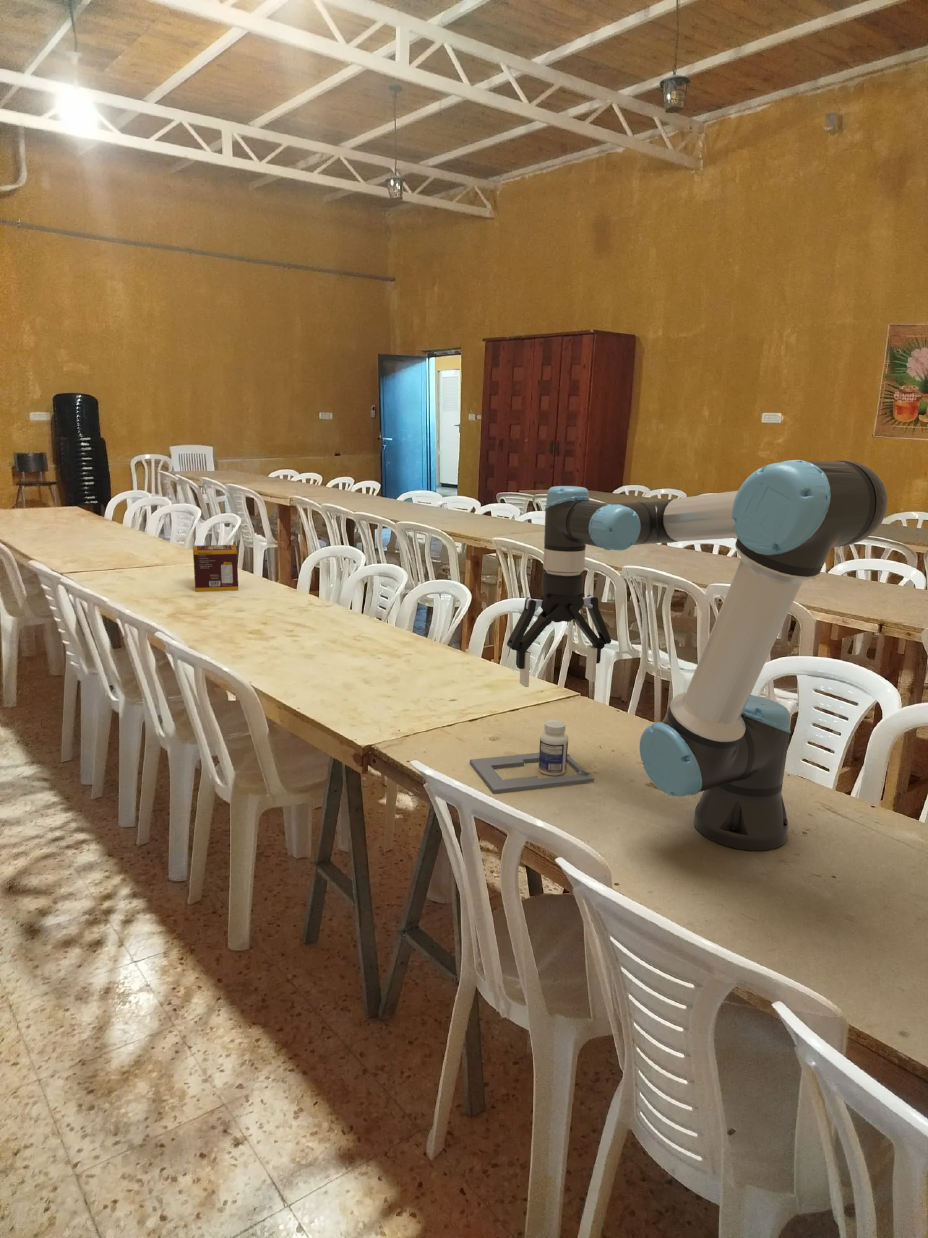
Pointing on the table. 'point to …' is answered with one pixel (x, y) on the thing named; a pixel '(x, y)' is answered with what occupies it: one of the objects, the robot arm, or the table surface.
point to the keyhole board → (525, 783)
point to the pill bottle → (553, 748)
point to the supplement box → (215, 568)
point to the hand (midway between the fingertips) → (557, 682)
